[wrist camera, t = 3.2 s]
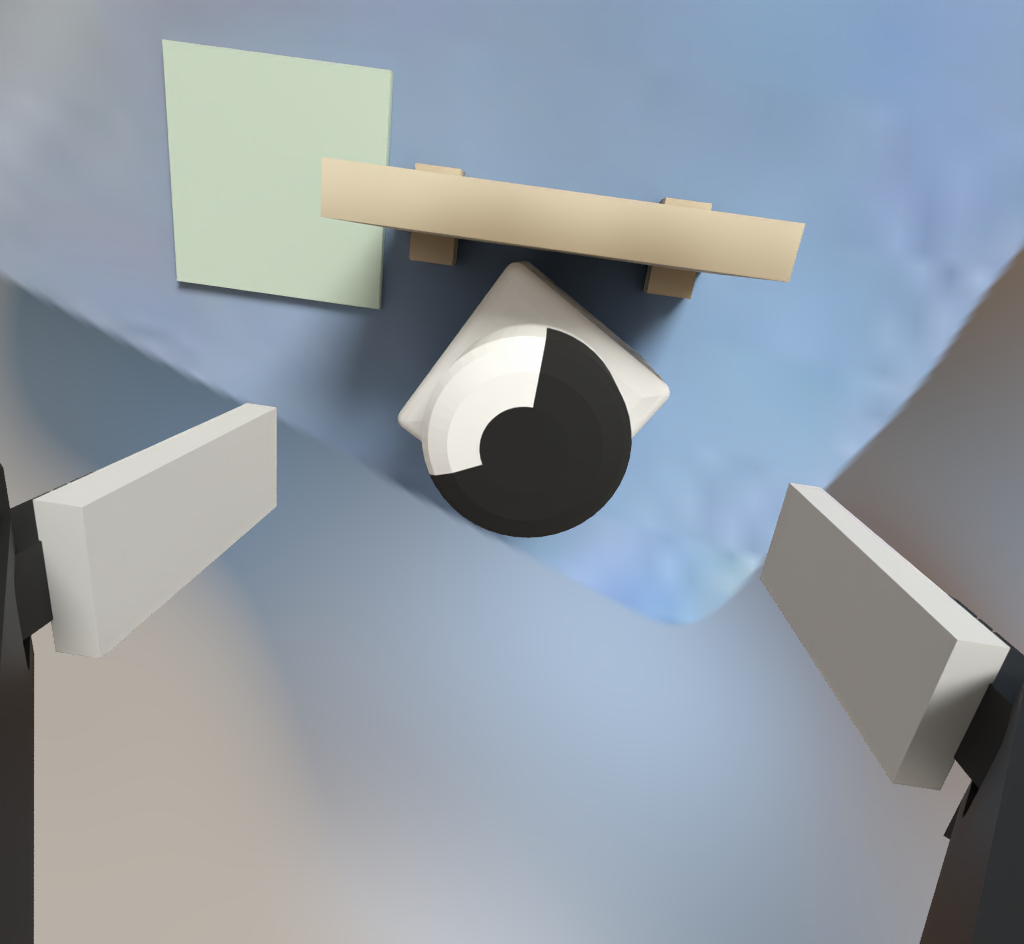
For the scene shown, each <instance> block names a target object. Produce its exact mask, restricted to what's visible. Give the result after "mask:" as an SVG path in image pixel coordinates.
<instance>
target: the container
mask: <svg viewBox="0 0 1024 944" xmlns="http://www.w3.org/2000/svg"><path fill="white" fill-rule="evenodd" d="M669 395H670V390H669V388H668V386H667V385H666V384H665V382H664V381H663V380H662V379H661V378H660V377H659V376H658V374H657V373H656V372H655V371H654V370H653V369H652V368H651V367H650V365H649V364H648V363H647V362H646V361H645V360H644V359H643V357H642V356H641V355H639V354H638V353H637V352H636V351H635V350H634V349H632V348H631V347H630V346H629V345H628V344H626V343H625V342H624V341H623V340H622V339H620V338H619V337H618V336H617V335H616V334H614V333H613V332H612V331H611V330H610V329H609V328H607V327H606V326H605V325H604V324H603V323H601V322H600V321H599V320H598V319H597V318H595V317H594V316H593V315H592V314H591V313H589V312H588V311H587V310H586V309H585V308H584V307H582V306H581V305H580V304H579V303H578V302H576V301H575V300H574V299H573V298H572V297H570V296H569V295H568V294H567V293H566V292H564V291H563V290H562V289H561V288H560V287H559V286H557V285H556V284H555V283H554V282H553V281H551V280H550V279H549V278H548V277H547V276H545V275H544V274H543V273H542V272H541V271H539V270H538V269H537V268H536V267H535V266H534V265H532V264H531V263H530V262H528V261H520V262H514V263H511V264H510V265H509V266H507V267H506V269H505V270H504V272H503V273H502V274H501V276H500V277H499V278H498V280H497V281H496V282H495V284H494V285H493V286H492V288H491V289H490V291H489V292H488V293H487V295H486V296H485V297H484V299H483V300H482V301H481V303H480V304H479V305H478V307H477V308H476V309H475V311H474V312H473V314H472V315H471V316H470V318H469V319H468V320H467V322H466V323H465V324H464V326H463V327H462V328H461V330H460V331H459V332H458V334H457V335H456V337H455V338H454V339H453V341H452V342H451V343H450V345H449V346H448V347H447V349H446V350H445V351H444V353H443V354H442V356H441V357H440V358H439V360H438V361H437V362H436V364H435V365H434V366H433V368H432V369H431V370H430V372H429V373H428V374H427V376H426V377H425V379H424V380H423V381H422V383H421V384H420V385H419V387H418V388H417V389H416V391H415V392H414V393H413V395H412V396H411V397H410V399H409V400H408V402H407V403H406V404H405V406H404V407H403V408H402V410H401V411H400V412H399V415H398V422H399V424H400V425H401V426H402V427H403V428H404V429H406V430H407V431H408V432H410V433H411V434H412V435H414V436H415V437H416V438H418V439H419V440H420V441H422V448H423V454H424V459H425V463H426V465H427V468H428V471H429V474H430V476H431V478H432V480H433V482H434V484H435V486H436V487H437V489H438V490H439V492H440V493H441V495H442V496H443V497H444V499H445V500H446V501H447V502H448V503H449V504H450V505H451V506H452V507H453V508H454V509H455V510H456V511H457V512H459V513H460V514H461V515H462V516H463V517H465V518H466V519H468V520H470V521H471V522H473V523H474V524H476V525H478V526H480V527H482V528H485V529H487V530H489V531H492V532H496V533H499V534H502V535H508V536H513V537H526V538H529V537H543V536H548V535H553V534H557V533H560V532H563V531H566V530H569V529H571V528H573V527H575V526H577V525H579V524H581V523H583V522H584V521H586V520H587V519H589V518H590V517H592V516H593V515H594V514H595V513H597V512H598V511H599V510H600V509H601V508H602V507H603V506H604V505H605V504H606V503H607V502H608V501H609V499H610V498H611V497H612V496H613V494H614V493H615V491H616V490H617V488H618V487H619V485H620V483H621V481H622V479H623V476H624V474H625V472H626V469H627V465H628V462H629V459H630V452H631V445H632V438H633V436H634V435H635V434H636V433H637V432H638V431H639V430H640V429H641V428H642V427H643V425H644V424H645V423H646V422H647V421H648V420H649V419H650V418H651V417H652V416H653V414H654V413H655V412H656V411H657V410H658V409H659V408H660V407H661V406H662V405H663V404H664V402H665V401H666V400H667V399H668V397H669Z"/></svg>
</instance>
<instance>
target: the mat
mask: <svg viewBox="0 0 1024 944" xmlns="http://www.w3.org/2000/svg"><path fill="white" fill-rule="evenodd" d="M162 44H163V60H164V76H165V92H166V108H167V125H168V141H169V157H170V173H171V189H172V206H173V222H174V238H175V254H176V270H177V281H183V282H190V283H197V284H204V285H211V286H218V287H225V288H232V289H239V290H246V291H253V292H260V293H267V294H274V295H281V296H288V297H295V298H302V299H309V300H316V301H324V302H331V303H338V304H345V305H352V306H359V307H366V308H373V309H381V297H382V278H383V259H384V240H385V228H384V227H378V226H373V225H367V224H361V223H355V222H349V221H343V220H337V219H331V218H325V217H321V171H322V157H325V158H333V159H340V160H347V161H354V162H362V163H369V164H376V165H383V166H388V164H389V145H390V126H391V107H392V88H393V72H392V71H391V70H384V69H376V68H369V67H362V66H354V65H347V64H340V63H332V62H325V61H317V60H310V59H303V58H295V57H288V56H280V55H273V54H266V53H258V52H251V51H244V50H236V49H229V48H221V47H214V46H207V45H199V44H192V43H184V42H177V41H170V40H162Z"/></svg>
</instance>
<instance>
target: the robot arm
mask: <svg viewBox="0 0 1024 944" xmlns="http://www.w3.org/2000/svg"><path fill="white" fill-rule="evenodd" d="M276 426H277V410H276V407H270V406H263V405H256V404H249V403H247V404H244V405H242V406H240V407H238V408H236V409H233V410H231V411H229V412H227V413H225V414H222V415H220V416H218V417H215V418H213V419H211V420H209V421H207V422H204V423H202V424H200V425H198V426H196V427H193V428H191V429H189V430H187V431H185V432H182V433H180V434H178V435H176V436H173V437H171V438H169V439H167V440H164V441H162V442H160V443H158V444H155V445H153V446H151V447H149V448H147V449H145V450H142V451H140V452H138V453H136V454H133V455H131V456H129V457H127V458H124V459H122V460H120V461H118V462H116V463H113V464H111V465H109V466H107V467H104V468H102V469H100V470H98V471H95V472H91V473H89V474H87V475H84V476H82V477H80V478H78V479H75V480H73V481H71V482H70V483H69V484H64V485H62V486H60V487H58V488H55V489H54V490H53V491H51V492H47V493H44V494H42V495H40V496H38V497H35V498H33V499H31V500H29V501H26V502H24V503H22V504H20V505H17V506H15V507H13V508H11V509H10V507H9V500H8V494H7V488H6V482H5V476H4V470H3V467H2V465H1V464H0V944H34V651H33V645H32V639H31V635H32V634H33V633H35V632H36V631H38V630H39V629H40V628H42V627H43V626H45V625H46V624H47V623H49V622H50V621H51V624H52V630H53V637H54V644H55V650H56V652H60V653H68V654H73V655H79V656H86V657H92V658H99V659H101V658H102V657H103V656H104V655H105V654H107V653H108V652H109V651H110V650H111V649H112V648H114V647H115V646H116V645H117V644H118V643H119V642H121V640H123V639H124V638H125V637H126V636H127V635H128V634H130V633H131V632H132V631H133V630H134V629H135V628H137V627H138V626H139V625H140V624H141V623H142V622H143V621H145V620H146V619H147V618H148V617H149V616H150V615H152V614H153V613H154V612H155V611H156V610H157V609H158V608H160V607H161V606H162V605H163V604H164V603H165V602H167V601H168V600H169V599H170V598H171V597H172V596H174V595H175V594H176V593H177V592H178V591H179V590H180V589H182V588H183V587H184V586H185V585H186V584H187V583H188V582H189V581H191V580H192V579H193V578H194V577H195V576H197V575H198V574H199V573H200V572H201V571H202V570H203V569H205V568H206V567H207V566H208V565H209V564H210V563H212V562H213V561H214V560H215V559H216V558H217V557H219V556H220V555H221V554H222V553H223V552H224V551H225V550H227V549H228V548H229V547H230V546H231V545H232V544H234V543H235V542H236V541H237V540H238V539H239V538H240V537H242V536H243V535H244V534H245V533H246V532H247V531H248V530H250V529H251V528H252V527H253V526H254V525H255V524H257V523H258V522H259V521H260V520H261V519H262V518H264V516H266V515H267V514H268V513H269V512H270V511H272V510H273V509H274V508H275V507H276V506H277V454H276V453H277V450H276V449H277V445H276V444H277V442H276V441H277V427H276ZM760 580H761V581H762V583H763V584H764V586H765V587H766V589H767V591H768V592H769V594H770V595H771V597H772V598H773V600H774V601H775V603H776V604H777V606H778V607H779V609H780V611H781V612H782V614H783V615H784V617H785V618H786V620H787V621H788V623H789V624H790V626H791V628H792V629H793V630H794V632H795V634H796V635H797V637H798V638H799V640H800V641H801V643H802V644H803V646H804V648H805V649H806V651H807V652H808V653H809V655H810V657H811V658H812V660H813V661H814V663H815V664H816V666H817V668H818V669H819V671H820V672H821V674H822V675H823V677H824V678H825V680H826V681H827V683H828V685H829V686H830V688H831V689H832V690H833V692H834V693H835V695H836V697H837V698H838V700H839V701H840V703H841V704H842V706H843V708H844V709H845V711H846V712H847V714H848V715H849V717H850V718H851V720H852V721H853V723H854V725H855V726H856V727H857V729H858V731H859V732H860V734H861V735H862V737H863V738H864V740H865V742H866V743H867V745H868V746H869V748H870V749H871V751H872V752H873V754H874V755H875V757H876V758H877V760H878V762H879V763H880V765H881V766H882V768H883V769H884V771H885V772H886V774H887V775H888V777H889V778H890V780H891V782H892V783H895V784H902V785H908V786H914V787H921V788H927V789H934V790H941V788H942V786H943V784H944V782H945V780H946V778H947V776H948V774H949V772H950V769H951V767H952V766H953V763H954V761H955V760H956V761H957V762H958V764H959V765H960V766H961V767H962V768H963V770H964V771H965V772H966V773H967V775H968V776H969V777H970V778H971V780H972V781H971V783H970V785H969V787H968V789H967V791H966V793H965V794H964V797H963V798H962V800H961V802H960V804H959V806H958V808H957V810H956V812H955V814H954V816H953V818H952V820H951V822H950V824H949V826H948V828H947V830H946V832H945V834H944V836H945V837H947V838H949V839H950V842H949V846H948V848H947V852H946V855H945V859H944V862H943V865H942V869H941V872H940V876H939V879H938V883H937V886H936V889H935V893H934V896H933V899H932V903H931V907H930V910H929V913H928V916H927V920H926V923H925V927H924V931H923V934H922V937H921V940H920V944H1024V655H1023V654H1021V653H1020V652H1019V651H1018V650H1017V649H1016V648H1014V647H1013V646H1012V645H1011V644H1010V643H1008V642H1007V641H1006V640H1005V639H1004V638H1003V637H1001V636H1000V635H999V634H998V633H995V632H992V630H993V629H992V628H991V627H989V626H988V625H987V624H986V623H985V622H983V621H982V620H981V619H977V616H976V615H975V614H974V613H973V612H971V611H970V610H969V609H968V608H967V607H965V606H964V605H963V604H962V603H961V602H959V601H958V600H957V599H955V598H953V597H951V596H950V595H948V594H946V593H945V592H944V591H942V590H941V589H940V588H939V587H938V586H936V585H935V584H934V583H933V582H932V581H930V580H929V579H928V578H927V577H926V576H925V575H923V574H922V573H921V572H920V571H919V570H917V569H916V568H915V567H914V566H913V565H911V564H910V563H909V562H908V561H907V560H906V559H904V558H903V557H902V556H901V555H900V554H899V553H897V552H896V551H895V550H894V549H893V548H891V547H890V546H889V545H888V544H887V543H886V542H884V541H883V540H882V539H881V538H880V537H878V536H877V535H876V534H875V533H874V532H872V531H871V530H870V529H869V528H868V527H867V526H865V525H864V524H863V523H862V522H861V521H859V520H858V519H857V518H856V517H855V516H854V515H852V514H851V513H850V512H849V511H848V510H846V509H845V508H844V507H843V506H842V505H840V504H839V503H838V502H837V501H836V500H835V499H833V498H832V497H831V496H830V495H829V494H827V493H826V492H825V491H824V490H823V489H822V488H820V487H815V486H808V485H801V484H794V483H789V486H788V489H787V492H786V496H785V499H784V502H783V505H782V509H781V512H780V515H779V518H778V522H777V525H776V528H775V531H774V535H773V538H772V541H771V544H770V547H769V551H768V554H767V557H766V560H765V564H764V567H763V570H762V573H761V577H760Z"/></svg>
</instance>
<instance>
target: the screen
mask: <svg viewBox="0 0 1024 944" xmlns="http://www.w3.org/2000/svg"><path fill="white" fill-rule="evenodd" d="M464 174H465V173H464V172H463V171H462V170H461V169H455V168H448V167H441V166H433V165H426V164H419V163H415V170H412V169H405V168H398V167H391V166H383V165H376V164H369V163H362V162H354V161H347V160H340V159H333V158H325V157H322V171H321V217H325V218H331V219H337V220H343V221H349V222H355V223H361V224H367V225H373V226H378V227H384V228H390V229H396V230H402V231H408V232H411V237H410V252H409V260H415V261H422V262H430V263H437V264H444V265H451V266H454V265H456V260H457V249H458V239H466V240H473V241H480V242H487V243H494V244H501V245H509V246H516V247H523V248H530V249H537V250H544V251H552V252H559V253H566V254H573V255H580V256H587V257H594V258H602V259H609V260H616V261H623V262H630V263H637V264H645V265H648V270H647V275H646V280H645V285H644V290H643V292H646V293H650V294H658V295H665V296H672V297H679V298H686V299H691V295H692V290H693V286H694V282H695V277H696V273H697V272H702V273H711V274H720V275H729V276H738V277H747V278H757V279H766V280H775V281H784V282H789V280H790V277H791V273H792V270H793V266H794V263H795V259H796V255H797V252H798V248H799V245H800V241H801V237H802V234H803V230H804V227H805V224H804V223H797V222H789V221H782V220H775V219H768V218H760V217H753V216H746V215H739V214H731V213H724V212H717V211H711V207H712V204H709V203H702V202H695V201H687V200H680V199H673V198H664V199H662V200H661V204H659V203H652V202H644V201H637V200H630V199H623V198H615V197H608V196H601V195H594V194H586V193H579V192H572V191H565V190H557V189H550V188H543V187H536V186H528V185H521V184H514V183H507V182H499V181H492V180H485V179H478V178H470V177H464Z"/></svg>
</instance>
